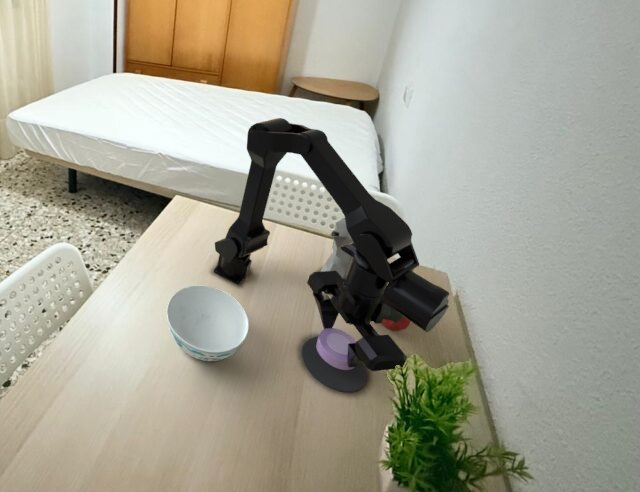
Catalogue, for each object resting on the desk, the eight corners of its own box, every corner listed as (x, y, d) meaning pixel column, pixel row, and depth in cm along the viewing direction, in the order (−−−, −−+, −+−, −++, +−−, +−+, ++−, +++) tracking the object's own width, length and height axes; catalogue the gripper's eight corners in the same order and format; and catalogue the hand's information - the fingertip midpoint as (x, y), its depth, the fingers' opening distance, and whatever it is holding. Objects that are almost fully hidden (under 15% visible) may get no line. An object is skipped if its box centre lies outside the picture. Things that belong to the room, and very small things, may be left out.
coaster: (294, 367, 74) (294, 366, 74) (310, 327, 82) (311, 326, 82) (359, 405, 68) (360, 404, 68) (370, 359, 76) (371, 358, 76)
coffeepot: (327, 301, 88) (351, 236, 80) (303, 271, 96) (321, 209, 89) (387, 293, 91) (415, 229, 83) (358, 264, 99) (381, 203, 92)
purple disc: (311, 354, 73) (314, 346, 72) (321, 329, 78) (324, 321, 77) (353, 378, 69) (357, 369, 68) (361, 349, 74) (364, 341, 73)
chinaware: (248, 329, 81) (255, 301, 78) (233, 395, 69) (240, 366, 65) (177, 302, 86) (181, 275, 83) (151, 359, 74) (154, 330, 71)
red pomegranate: (409, 342, 80) (423, 313, 76) (377, 336, 81) (390, 307, 77) (397, 318, 85) (410, 290, 81) (368, 313, 86) (379, 285, 82)
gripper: (455, 328, 59) (417, 394, 66) (370, 244, 76) (347, 304, 83) (386, 334, 58) (355, 401, 64) (315, 247, 74) (297, 308, 81)
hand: (338, 347), depth 73 cm, fingers closed on purple disc, 7 cm apart
